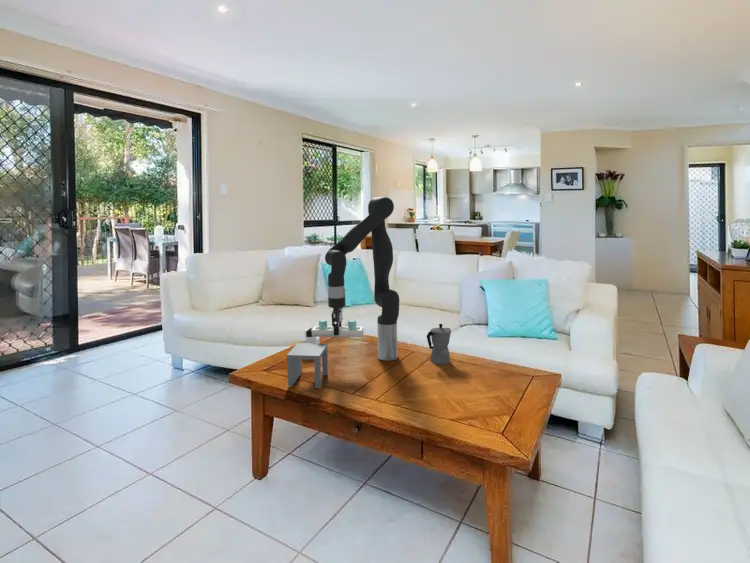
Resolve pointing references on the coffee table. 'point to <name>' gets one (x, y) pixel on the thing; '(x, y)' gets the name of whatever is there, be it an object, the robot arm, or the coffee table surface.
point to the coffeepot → (439, 345)
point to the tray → (343, 331)
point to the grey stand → (307, 352)
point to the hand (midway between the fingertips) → (337, 332)
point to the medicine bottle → (310, 337)
